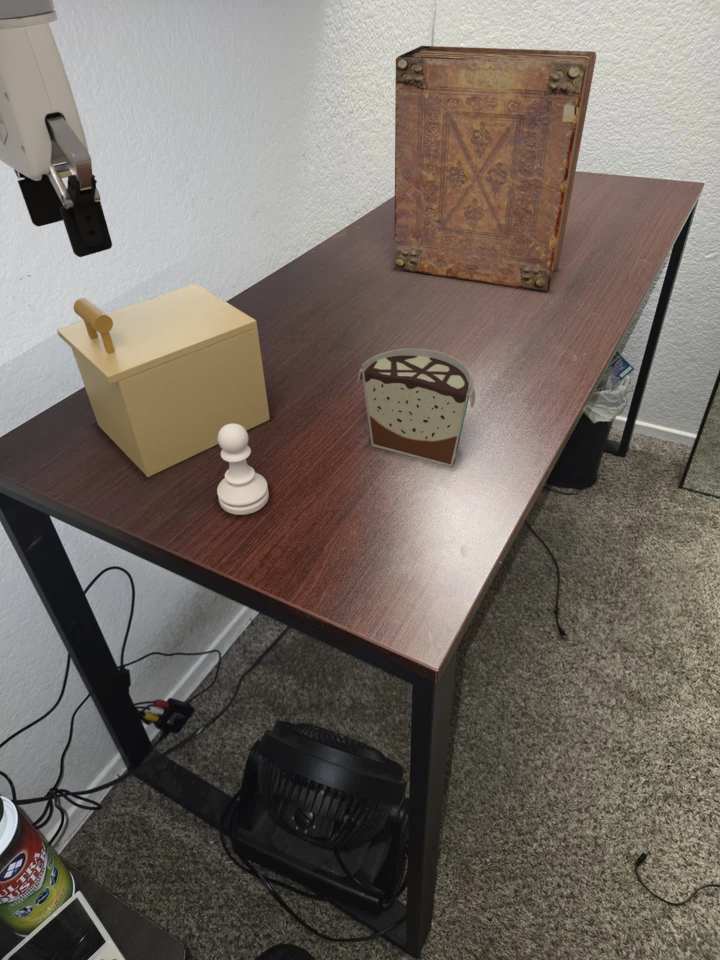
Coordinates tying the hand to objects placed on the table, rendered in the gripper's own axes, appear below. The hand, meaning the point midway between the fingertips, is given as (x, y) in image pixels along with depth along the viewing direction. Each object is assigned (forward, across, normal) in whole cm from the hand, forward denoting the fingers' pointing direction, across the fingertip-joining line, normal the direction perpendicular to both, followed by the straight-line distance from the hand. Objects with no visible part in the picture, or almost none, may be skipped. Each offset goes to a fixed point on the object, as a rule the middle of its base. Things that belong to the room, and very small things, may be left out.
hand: (71, 236), depth 58 cm
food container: (+24, +21, +24) cm, 40 cm away
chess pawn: (+24, +16, +4) cm, 29 cm away
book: (+24, -6, +63) cm, 68 cm away
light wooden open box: (+23, 0, +6) cm, 24 cm away
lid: (+12, 0, +6) cm, 13 cm away
